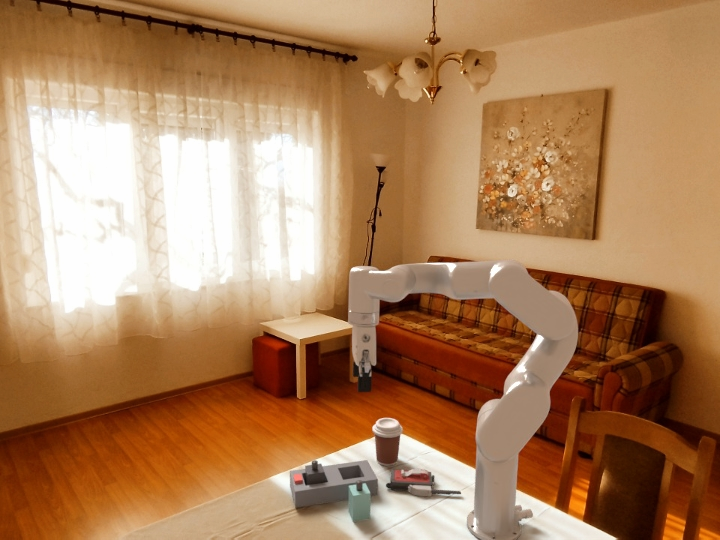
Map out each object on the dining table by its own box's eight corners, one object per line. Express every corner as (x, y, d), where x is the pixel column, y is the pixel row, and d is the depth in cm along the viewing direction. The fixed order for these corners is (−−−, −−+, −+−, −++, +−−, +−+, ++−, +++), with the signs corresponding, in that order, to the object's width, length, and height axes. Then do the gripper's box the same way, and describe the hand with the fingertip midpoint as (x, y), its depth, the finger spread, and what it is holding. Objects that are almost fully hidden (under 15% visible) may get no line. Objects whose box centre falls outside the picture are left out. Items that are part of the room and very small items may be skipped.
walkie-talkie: (385, 495, 136) (461, 500, 135) (385, 480, 136) (462, 484, 134) (386, 477, 145) (458, 481, 143) (387, 463, 144) (458, 466, 142)
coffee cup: (369, 453, 157) (369, 417, 155) (398, 451, 159) (398, 415, 157) (375, 469, 148) (375, 431, 146) (405, 466, 150) (406, 428, 148)
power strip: (367, 474, 146) (367, 445, 144) (377, 494, 136) (377, 463, 135) (290, 486, 140) (289, 455, 138) (295, 507, 130) (294, 475, 129)
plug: (365, 508, 130) (365, 475, 129) (370, 519, 126) (370, 485, 125) (348, 511, 129) (348, 478, 128) (352, 522, 125) (353, 488, 123)
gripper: (385, 326, 117) (382, 397, 119) (373, 308, 133) (371, 371, 136) (352, 326, 115) (350, 398, 118) (344, 308, 132) (343, 371, 135)
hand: (361, 383), depth 127 cm, fingers open, 9 cm apart
